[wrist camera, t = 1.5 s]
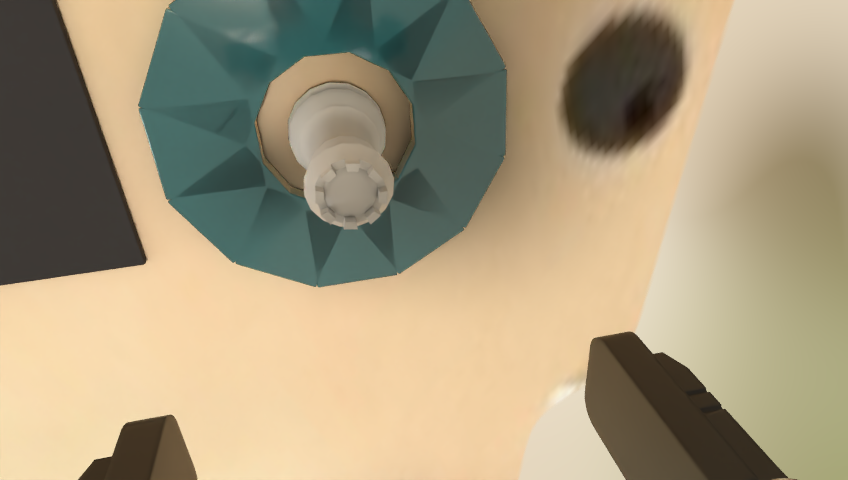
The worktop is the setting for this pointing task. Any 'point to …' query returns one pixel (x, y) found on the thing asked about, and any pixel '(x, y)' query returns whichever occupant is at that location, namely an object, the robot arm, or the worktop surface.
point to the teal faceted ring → (263, 185)
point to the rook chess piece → (341, 154)
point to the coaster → (53, 158)
